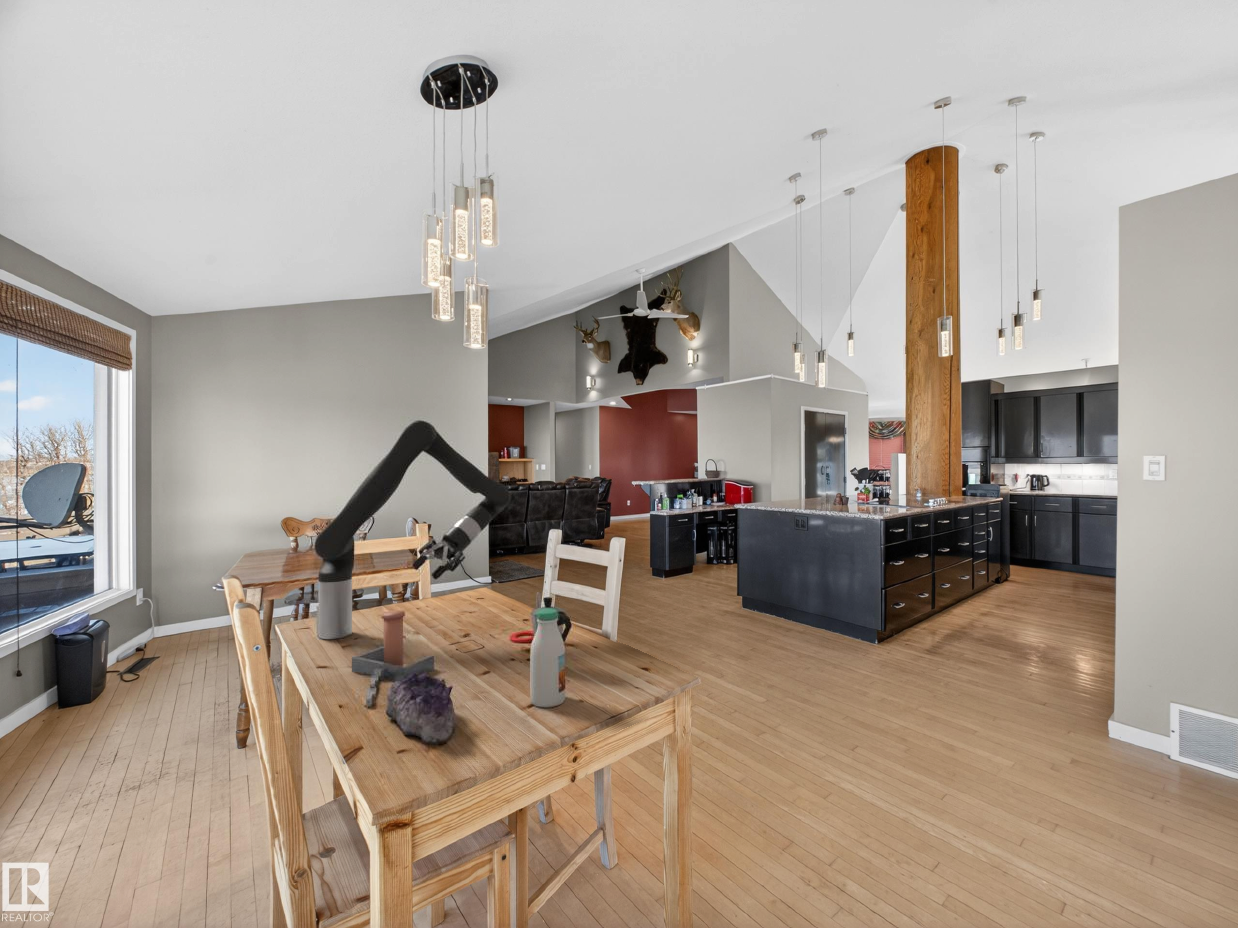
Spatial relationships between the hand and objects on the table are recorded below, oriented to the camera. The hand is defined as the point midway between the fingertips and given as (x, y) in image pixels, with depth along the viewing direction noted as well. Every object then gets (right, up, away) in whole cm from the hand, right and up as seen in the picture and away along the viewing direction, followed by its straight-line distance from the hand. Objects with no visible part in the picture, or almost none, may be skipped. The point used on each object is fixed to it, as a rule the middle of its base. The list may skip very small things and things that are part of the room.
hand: (423, 572), depth 159 cm
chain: (0, -21, -32) cm, 38 cm away
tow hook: (+29, -22, +7) cm, 37 cm away
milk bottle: (+41, -21, -37) cm, 59 cm away
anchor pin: (-1, -21, -18) cm, 28 cm away
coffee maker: (+39, -21, -18) cm, 48 cm away
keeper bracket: (-1, -21, -19) cm, 28 cm away
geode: (+18, -22, -48) cm, 55 cm away
